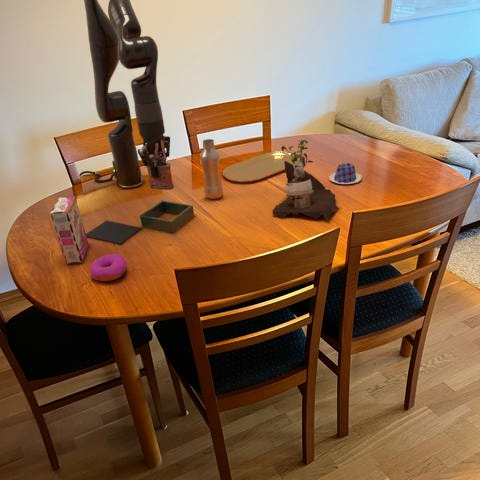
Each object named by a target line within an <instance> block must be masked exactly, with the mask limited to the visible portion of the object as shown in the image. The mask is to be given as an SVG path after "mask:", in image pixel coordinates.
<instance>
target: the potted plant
mask: <svg viewBox="0 0 480 480" xmlns="http://www.w3.org/2000/svg"><path fill="white" fill-rule="evenodd" d="M298 142H299V143H298V145H297V149H298V150H297V151H294V152H293V151H292V148H294V145H291V146H287V147H286V146H285V145H283V146H281V148H280V149H281V152H285V151H286V152H288V153H291V157H292V158H291V161H292V162H293V164H294V165H293V164H290V163H289V162H287V161H284V164H285V171H284V172H285V176H286V179H287V180H286V181H287V182H285V196H286V197H287V198H285V200H283V201H282V202H279V203H278V204H275V206H274V208H273V209H272V215H273V216H278V217H280V218H281V219H284V218H285V217H286V216H289V215H290V214H292V215H294V216H297V215H299V214H302V215H303V214H304V215H306V216H308V217H310V218H313V219H315V220H318V219H319V218H320V217H321V216H323V217H324V218H325V219H326V220H327V221H331V215H332V213H335V212H337V211H338V210H339V207H338V206H337V202H336V201H337V199H336V194H334V193H333V192H332V190H330V189H327V188H326V186H324V184H323V183H321V181H319V180H318V179H317V178H315V176H314V175H312V173H309V172H307V171H306V170H305V169H304V168H306V166H307V164H306V163H310V164H311V163H314V161H313V160H309V159H308V154H307V153H306V152H304V153H303V151H304V150H308V149H309V148H308V147H306V145H307V144H308V143H309V140H307V139H305V138H304V139H298ZM288 153H287V154H288ZM293 155H294V157H293ZM297 158H300V161H299V162H298V164H295V161H297Z"/></svg>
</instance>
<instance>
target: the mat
mask: <svg viewBox="0 0 480 480" xmlns="http://www.w3.org/2000/svg"><path fill="white" fill-rule="evenodd" d="M141 230H143V227H139V226H134V225H130V224H125V223H119V222H114V221H109V220H105V221H104V222H102V223H101V224H99V225H97V226H96V227H94V228H93V229H92V230H90V231H89V232H87V233H86V237H87V238H88V239H89V238H90V239H95V240H98V241H103V242H107V243H112V244H116V245H120V246H121V245H122V244H124V243H126V241H128V240H129V239H130V238H132V237H133V236H135V235H136V234H137V233H138V232H140V231H141Z"/></svg>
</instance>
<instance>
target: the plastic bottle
mask: <svg viewBox="0 0 480 480" xmlns="http://www.w3.org/2000/svg"><path fill="white" fill-rule="evenodd" d="M202 148H203V149H202V150H201V153H200V157H199V158H200V163H201V166H202V171H203V177H204V188H203V189H204V195H205V197H206V198H208V199H210V200H217V199H220V198H221V197H222V196H223V194H224V187H223V184H222V180H221V176H220V154H219V152H218V151H217V149H216V148H215V140H214V139H211V138H208V139H204V140H202Z"/></svg>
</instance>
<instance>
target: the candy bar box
mask: <svg viewBox="0 0 480 480" xmlns="http://www.w3.org/2000/svg"><path fill="white" fill-rule="evenodd" d="M49 214H50V217H51V220H52V223H53V226H54V229H55V233H56V236H57V238H58V241H59V245H60V247H61V249H62V252H63V256H64V258H65V263H66V264H67V265H71V264H72V265H73V264H82V263H83V262H84V260H85V257H86V254H87V251H88V248H89V244H90V243H89V240H88V237H86V234H87V233H86V231H85V226H84V224H83V220H82V216H81V213H80V210H79V206H78V203H77V199H76V196H73V195H72V196H63V197H59V198H58V199H57V200H56V203H55V204H54V206H53V208H52V209H51V211H50V213H49Z"/></svg>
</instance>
